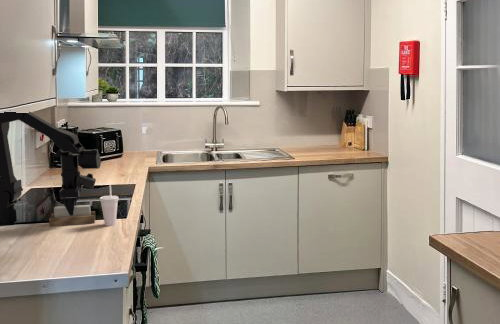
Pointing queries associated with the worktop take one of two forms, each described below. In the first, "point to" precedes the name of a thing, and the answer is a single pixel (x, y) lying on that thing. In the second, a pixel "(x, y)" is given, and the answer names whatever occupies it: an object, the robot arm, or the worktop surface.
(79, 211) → the clay strip
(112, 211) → the smoothie
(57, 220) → the wooden block
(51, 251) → the worktop surface
